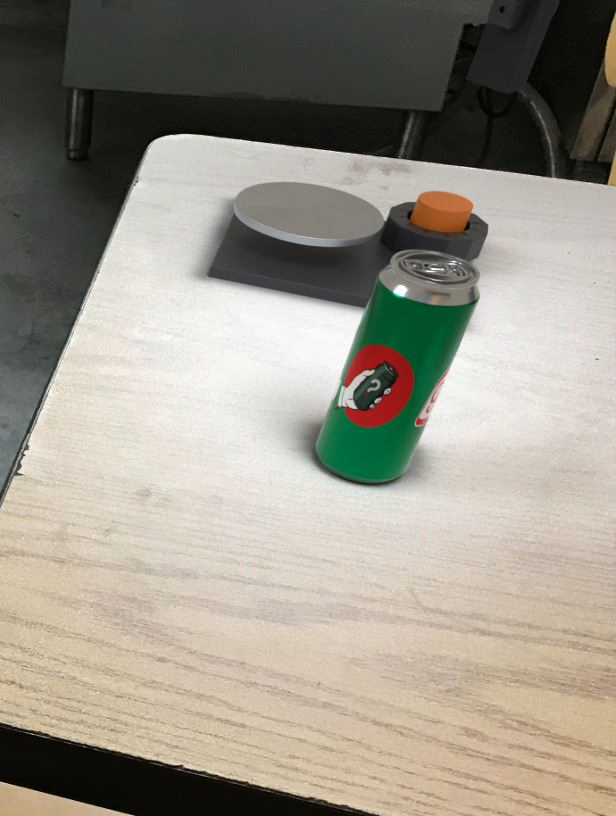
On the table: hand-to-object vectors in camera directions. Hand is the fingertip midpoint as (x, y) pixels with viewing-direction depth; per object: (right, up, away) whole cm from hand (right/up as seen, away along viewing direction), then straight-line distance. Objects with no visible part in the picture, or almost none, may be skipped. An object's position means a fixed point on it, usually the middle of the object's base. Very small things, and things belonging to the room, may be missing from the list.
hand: (494, 84), depth 78 cm
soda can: (-8, -22, 0) cm, 23 cm away
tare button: (+6, -2, +18) cm, 19 cm away
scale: (0, -5, +19) cm, 20 cm away
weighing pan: (-3, -2, +18) cm, 18 cm away
